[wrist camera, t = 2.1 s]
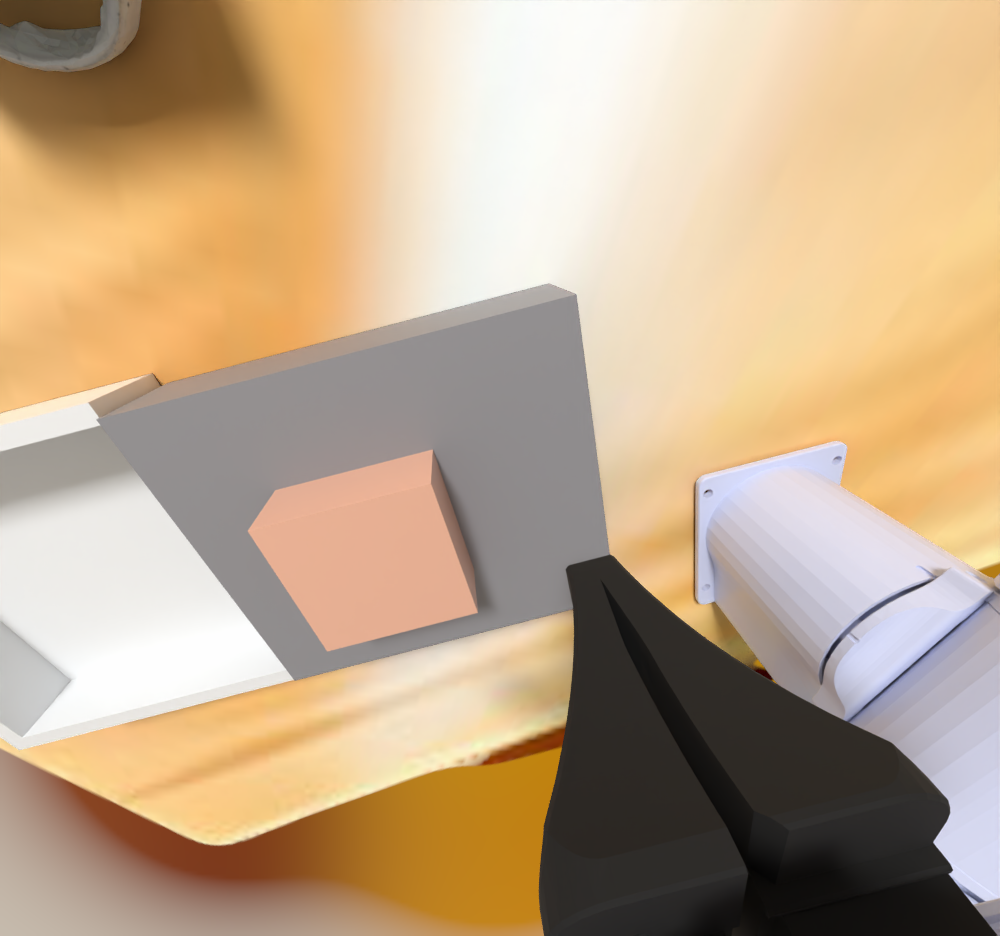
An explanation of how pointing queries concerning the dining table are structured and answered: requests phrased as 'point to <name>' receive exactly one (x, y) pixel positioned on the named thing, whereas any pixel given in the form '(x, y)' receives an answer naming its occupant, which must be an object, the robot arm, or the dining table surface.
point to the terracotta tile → (369, 551)
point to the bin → (103, 585)
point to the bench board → (391, 456)
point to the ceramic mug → (72, 40)
